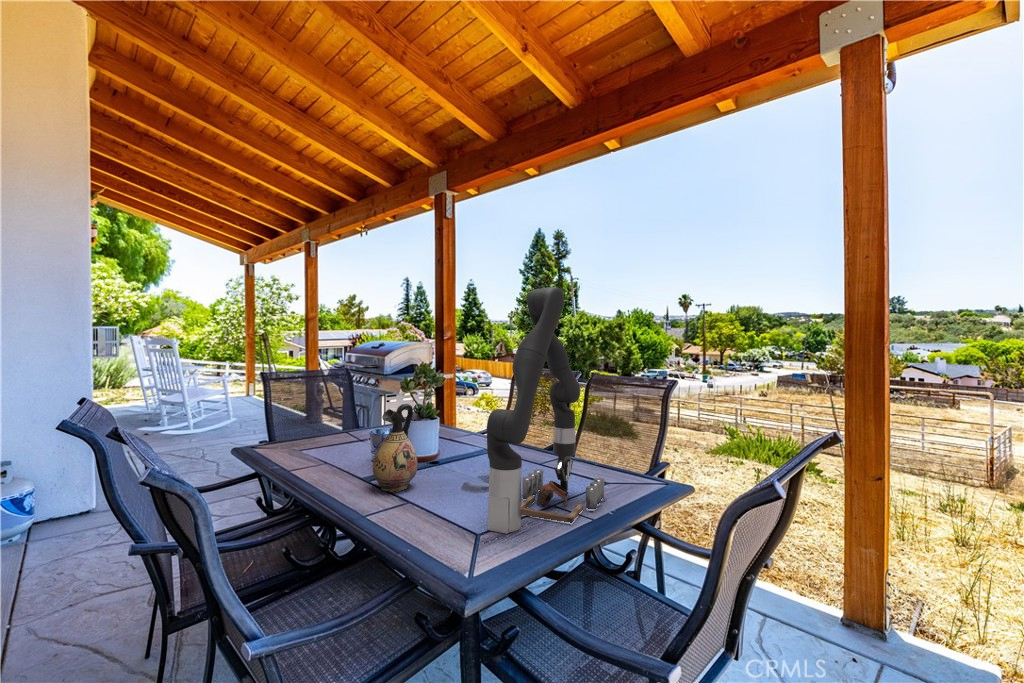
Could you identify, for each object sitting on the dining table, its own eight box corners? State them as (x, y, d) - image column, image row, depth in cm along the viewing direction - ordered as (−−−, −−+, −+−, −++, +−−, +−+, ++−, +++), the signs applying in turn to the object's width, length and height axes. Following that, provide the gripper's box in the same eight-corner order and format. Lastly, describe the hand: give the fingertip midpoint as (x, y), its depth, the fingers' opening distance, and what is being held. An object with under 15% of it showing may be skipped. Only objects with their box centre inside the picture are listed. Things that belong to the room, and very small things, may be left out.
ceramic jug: (391, 498, 148) (392, 408, 148) (363, 489, 157) (365, 404, 157) (429, 486, 161) (431, 403, 161) (402, 478, 170) (403, 400, 171)
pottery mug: (539, 498, 151) (551, 477, 152) (561, 516, 147) (574, 494, 147) (527, 500, 141) (540, 478, 141) (551, 519, 136) (565, 496, 137)
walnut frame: (571, 525, 128) (571, 518, 128) (515, 514, 136) (515, 507, 136) (583, 511, 140) (583, 504, 140) (530, 501, 147) (530, 495, 147)
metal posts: (595, 512, 138) (595, 490, 138) (520, 499, 149) (520, 478, 149) (605, 499, 150) (605, 478, 151) (535, 488, 161) (535, 468, 161)
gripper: (569, 445, 143) (568, 499, 143) (580, 437, 155) (580, 486, 155) (547, 443, 146) (546, 495, 146) (560, 435, 158) (559, 483, 158)
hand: (564, 491), depth 151 cm, fingers closed
